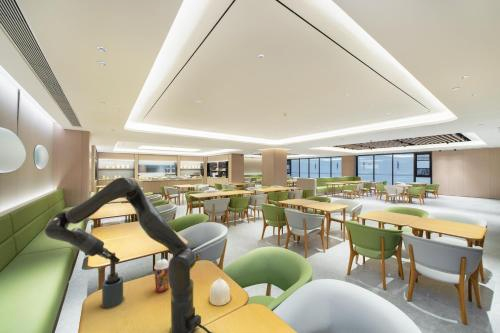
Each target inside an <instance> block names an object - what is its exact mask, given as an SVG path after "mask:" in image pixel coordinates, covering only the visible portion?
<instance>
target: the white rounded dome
mask: <svg viewBox="0 0 500 333" xmlns="http://www.w3.org/2000/svg"><path fill="white" fill-rule="evenodd" d="M230 301H231V289H230V286H229V284H228V282H227V281H226V280H224V279H223V278H221V276H219V277H218V278H217V279H216V280H215V281H213V283H212V284H211V286H210V289H209V303H211V305H213V306H223V305H226V304H228V303H229V302H230Z"/></svg>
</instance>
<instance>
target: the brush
mask: <svg viewBox="0 0 500 333" xmlns="http://www.w3.org/2000/svg"><path fill="white" fill-rule="evenodd" d="M112 254H113V255H115V256H116V252H112ZM109 271H110V272H109V274H107V279H106V280H107V284H108V285H110V284H115V283H117V282H118V277H119V273H118V272H116V263H115V262H113V261H111V260H110V259H109Z"/></svg>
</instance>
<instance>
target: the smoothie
mask: <svg viewBox="0 0 500 333" xmlns="http://www.w3.org/2000/svg"><path fill="white" fill-rule="evenodd" d="M169 262H170V261H169V260H168V259H166V258H164V254H161V258H159V259H158V260H157V261H156V263H155V264H154V267H153V268H154V269H153V270H154V282H155V283H154V284H155V291H156V292H157V293H165V292H166V291H167V290H168V288H169V287H170V285H169V273H168V267H169Z"/></svg>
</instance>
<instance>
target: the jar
mask: <svg viewBox="0 0 500 333" xmlns="http://www.w3.org/2000/svg"><path fill="white" fill-rule="evenodd" d="M101 290H102V291H101V294H102V295H101V302H102V303H101V305H102V308H104V309H111V308H114V307H117V306H119V305H120V304H122V303H123V301H124V277H122V276H118V282H117V283H115V284H110V285H108V284H107V279H105V280H104V281H103V282H102V283H101Z"/></svg>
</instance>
